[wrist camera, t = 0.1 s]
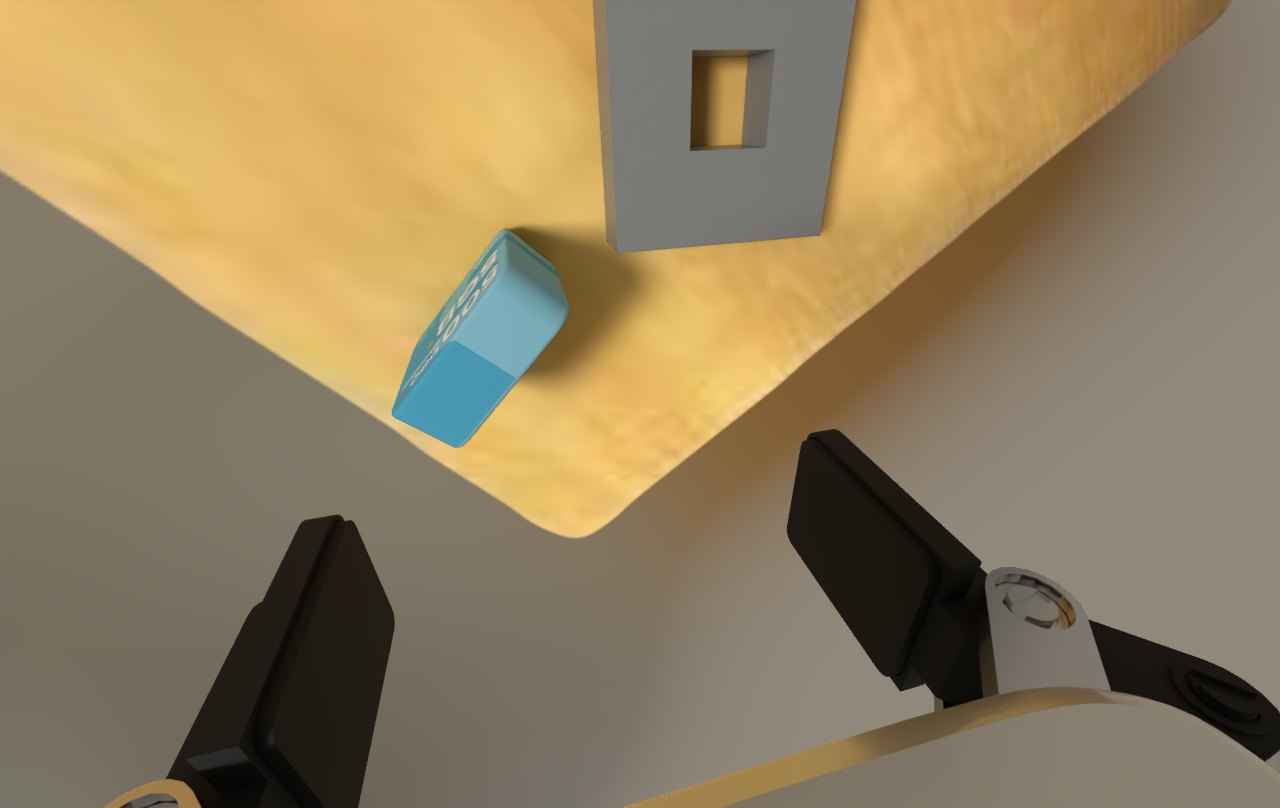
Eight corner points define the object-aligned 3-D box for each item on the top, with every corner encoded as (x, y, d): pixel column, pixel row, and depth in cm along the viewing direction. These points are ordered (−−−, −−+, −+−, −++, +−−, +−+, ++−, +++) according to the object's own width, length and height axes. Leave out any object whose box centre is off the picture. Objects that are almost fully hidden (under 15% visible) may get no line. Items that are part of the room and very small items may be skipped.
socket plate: (588, -72, 29) (600, -97, 26) (830, -62, 32) (869, -82, 29) (606, 241, 38) (617, 253, 35) (793, 225, 41) (819, 235, 38)
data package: (505, 222, 36) (507, 264, 26) (554, 262, 38) (574, 314, 28) (414, 345, 39) (385, 425, 29) (465, 375, 41) (455, 459, 31)
